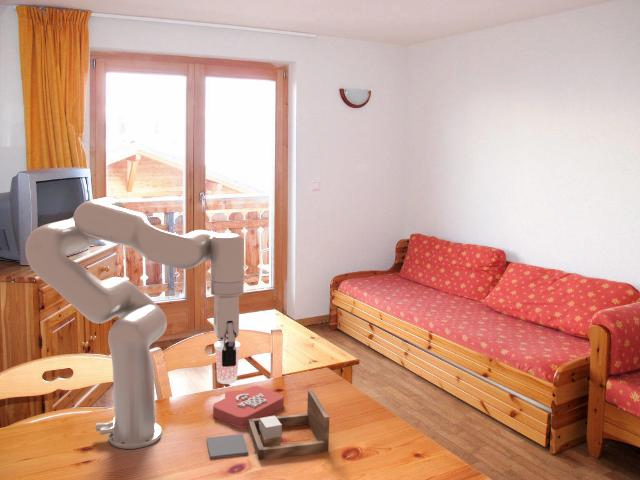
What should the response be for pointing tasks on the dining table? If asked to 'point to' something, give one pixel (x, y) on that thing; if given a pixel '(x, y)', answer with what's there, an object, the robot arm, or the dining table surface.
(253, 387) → the plaque
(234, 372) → the beverage cup
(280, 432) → the offcut top
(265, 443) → the block
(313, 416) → the rack
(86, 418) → the dining table surface
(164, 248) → the robot arm
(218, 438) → the coaster
